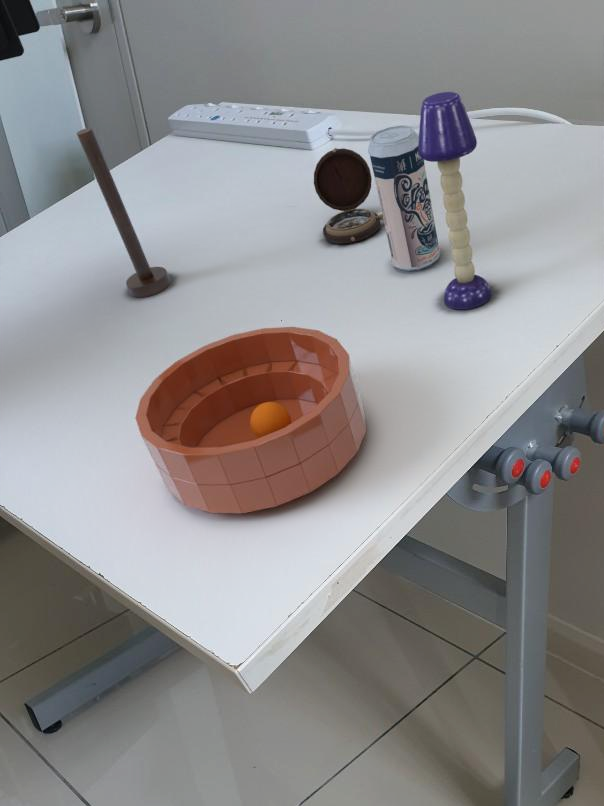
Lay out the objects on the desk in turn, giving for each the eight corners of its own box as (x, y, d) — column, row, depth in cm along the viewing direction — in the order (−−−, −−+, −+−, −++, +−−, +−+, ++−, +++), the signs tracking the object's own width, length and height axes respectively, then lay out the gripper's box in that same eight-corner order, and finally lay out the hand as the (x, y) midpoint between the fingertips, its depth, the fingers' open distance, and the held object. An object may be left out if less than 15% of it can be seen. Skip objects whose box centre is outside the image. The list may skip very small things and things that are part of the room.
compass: (325, 251, 90) (306, 181, 85) (324, 220, 96) (306, 153, 91) (401, 234, 89) (386, 162, 85) (395, 204, 95) (381, 135, 90)
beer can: (426, 275, 82) (402, 145, 74) (383, 272, 84) (355, 145, 76) (449, 251, 84) (428, 123, 76) (407, 248, 87) (382, 123, 79)
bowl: (155, 540, 61) (120, 474, 57) (179, 414, 72) (152, 352, 68) (373, 496, 60) (353, 426, 56) (363, 375, 71) (345, 309, 67)
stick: (127, 301, 91) (56, 144, 80) (134, 282, 94) (66, 128, 83) (167, 292, 90) (102, 133, 79) (173, 273, 93) (110, 118, 83)
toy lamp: (443, 288, 79) (409, 94, 68) (494, 279, 79) (468, 81, 68) (445, 314, 76) (409, 114, 65) (498, 305, 75) (471, 101, 64)
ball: (295, 442, 64) (256, 452, 64) (297, 429, 67) (259, 439, 67) (282, 404, 63) (243, 414, 63) (285, 392, 65) (246, 402, 65)
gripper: (-111, -198, 71) (-9, 35, 82) (-180, -196, 58) (-48, 80, 70) (-21, -219, 71) (68, 16, 83) (-70, -222, 58) (44, 58, 70)
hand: (15, 45), depth 76 cm, fingers open, 9 cm apart
